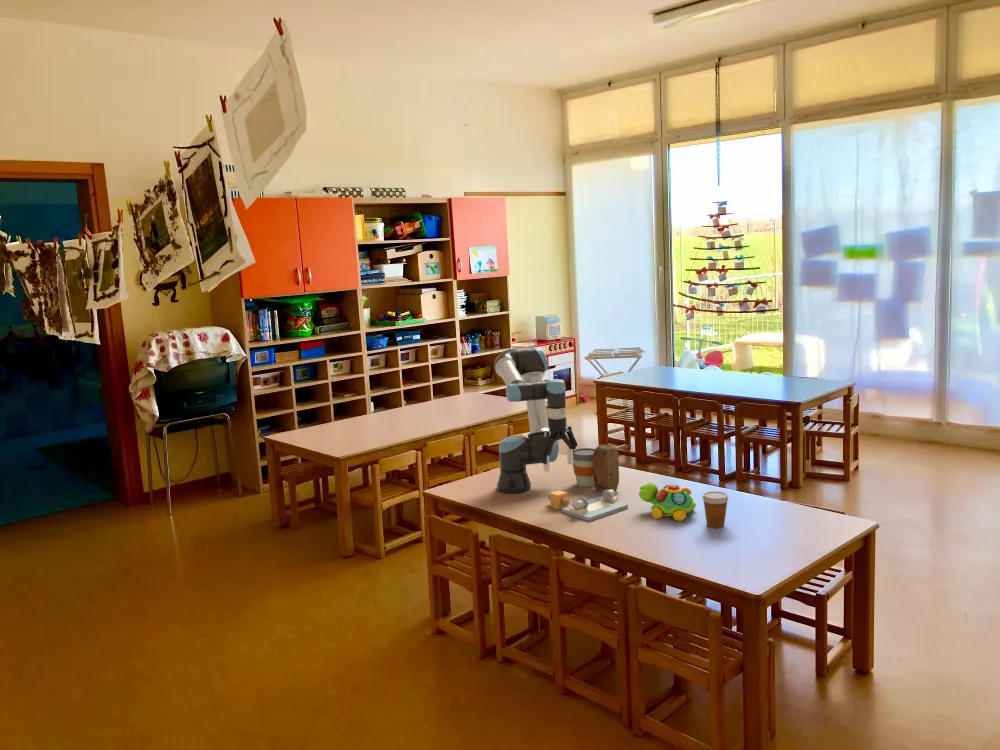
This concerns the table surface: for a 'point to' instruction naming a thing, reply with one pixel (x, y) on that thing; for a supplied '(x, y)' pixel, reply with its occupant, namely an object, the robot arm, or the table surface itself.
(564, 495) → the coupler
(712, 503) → the disposable coffee cup
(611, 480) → the block
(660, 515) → the turtle toy
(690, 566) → the table surface
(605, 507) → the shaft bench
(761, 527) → the table surface
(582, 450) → the reusable coffee cup
